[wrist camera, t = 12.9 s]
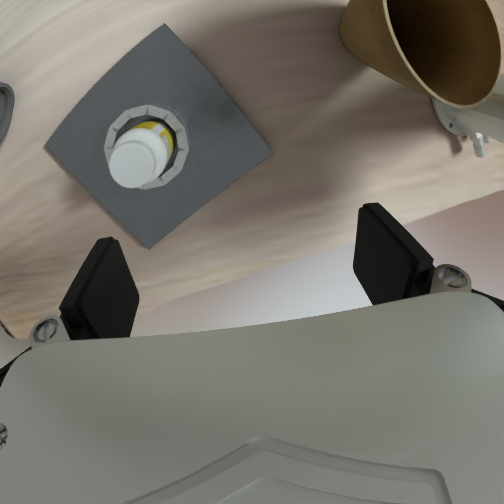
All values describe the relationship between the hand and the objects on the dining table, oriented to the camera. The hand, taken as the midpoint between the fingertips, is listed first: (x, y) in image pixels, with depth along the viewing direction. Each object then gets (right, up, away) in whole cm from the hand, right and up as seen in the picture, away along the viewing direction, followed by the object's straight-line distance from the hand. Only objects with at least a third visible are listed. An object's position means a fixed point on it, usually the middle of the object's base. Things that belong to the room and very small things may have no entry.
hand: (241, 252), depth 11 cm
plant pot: (+14, +26, +15) cm, 34 cm away
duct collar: (-11, +13, +20) cm, 26 cm away
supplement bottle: (-11, +12, +19) cm, 25 cm away
